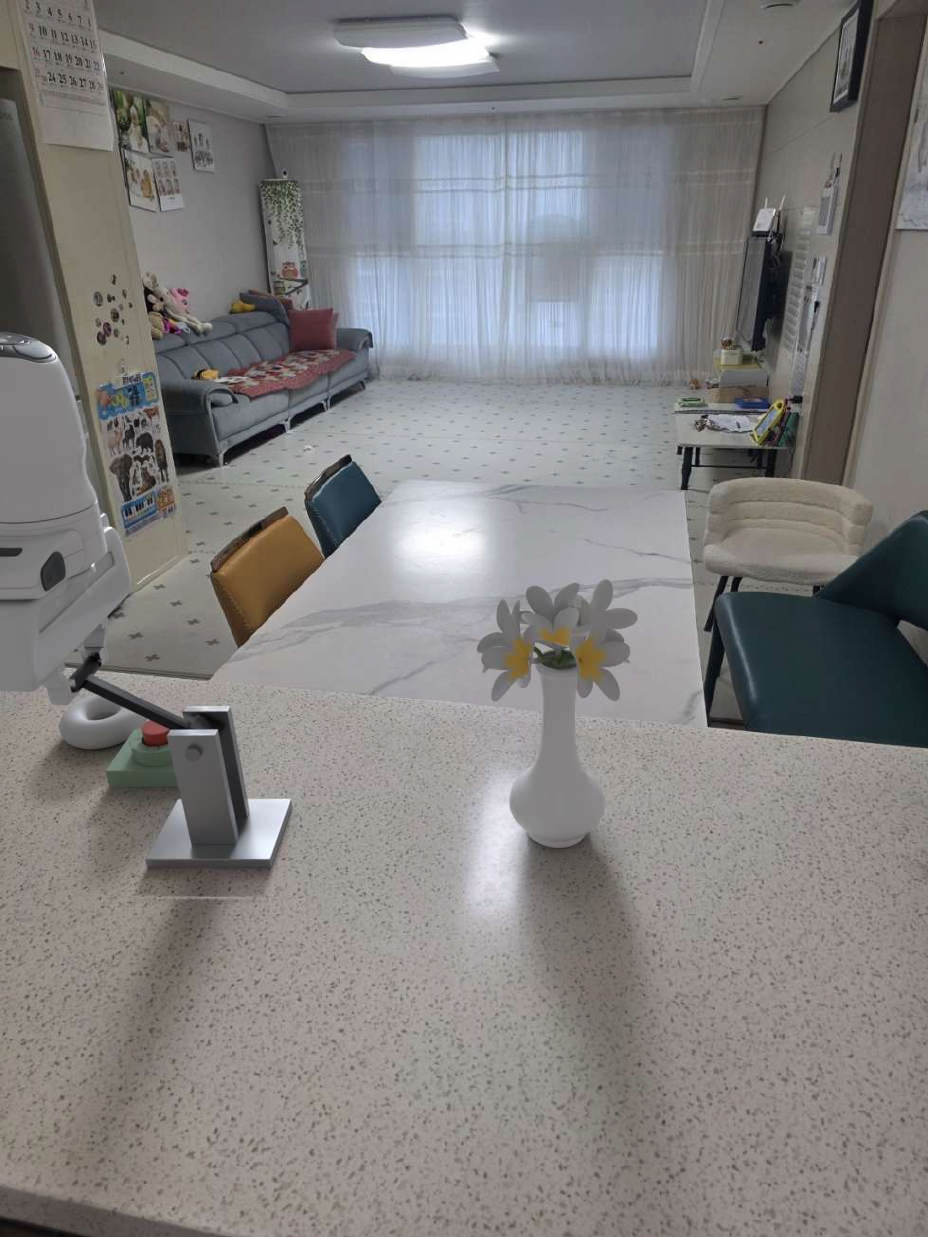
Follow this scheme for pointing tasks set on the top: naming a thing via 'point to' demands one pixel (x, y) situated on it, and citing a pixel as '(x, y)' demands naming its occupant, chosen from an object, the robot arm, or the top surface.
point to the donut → (98, 723)
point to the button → (154, 734)
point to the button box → (141, 765)
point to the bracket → (215, 804)
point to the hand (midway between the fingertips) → (81, 682)
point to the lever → (135, 701)
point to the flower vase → (558, 700)
